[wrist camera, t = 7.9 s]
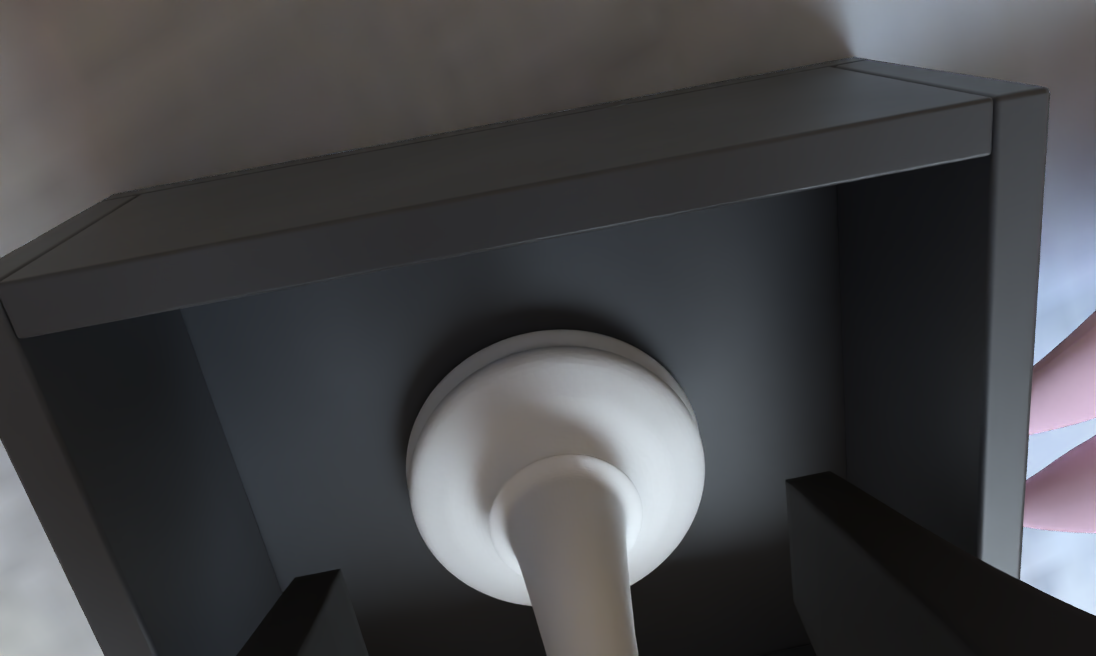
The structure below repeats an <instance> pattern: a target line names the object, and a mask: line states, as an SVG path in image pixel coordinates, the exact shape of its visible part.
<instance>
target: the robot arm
mask: <svg viewBox="0 0 1096 656" xmlns="http://www.w3.org/2000/svg"><path fill="white" fill-rule="evenodd" d="M785 485H786V500H787V514H788V529H789V544H790V559H791V573H792V588H793V602H794V604H795V606H796V609H797V611H798V614H799V616H800V618H801V621H802V623H803V625H804V628H805V630H806V633H807V635H808V637H809V640H810V642H811V644H812V646H813V649H814V651H815V653H816V655H817V656H1096V616H1095V615H1092V614H1090V613H1088V612H1085V611H1083V610H1081V609H1078V608H1076V607H1074V606H1072V605H1070V604H1068V603H1065V602H1063V601H1061V600H1059V599H1057V598H1055V597H1053V596H1050V595H1048V594H1046V593H1044V592H1042V591H1040V590H1038V589H1036V588H1034V587H1032V586H1030V585H1029V584H1027V583H1025V582H1023V581H1021V580H1019V579H1017V578H1015V577H1013V576H1011V575H1009V574H1007V573H1005V572H1003V571H1001V570H999V569H997V568H995V567H993V566H991V565H990V564H988V563H986V562H984V561H982V560H980V559H978V558H977V557H975V556H973V555H971V554H969V553H967V552H966V551H964V550H962V549H960V548H959V547H957V546H955V545H953V544H951V543H950V542H948V541H946V540H944V539H943V538H941V537H939V536H938V535H936V534H934V533H932V532H931V531H929V530H927V529H926V528H924V527H922V526H920V525H919V524H917V523H915V522H914V521H912V520H910V519H909V518H907V517H905V516H904V515H902V514H900V513H899V512H897V511H896V510H894V509H892V508H891V507H889V506H887V505H886V504H884V503H882V502H881V501H879V500H878V499H876V498H874V497H873V496H871V495H869V494H868V493H866V492H865V491H863V490H861V489H860V488H858V487H856V486H855V485H853V484H851V483H850V482H848V481H846V480H845V479H843V478H841V477H840V476H838V475H836V474H834V473H833V472H831V471H827V472H822V473H817V474H812V475H807V476H802V477H797V478H792V479H787V480H785ZM236 656H369V655H368V652H367V649H366V646H365V643H364V639H363V636H362V633H361V630H360V627H359V624H358V621H357V618H356V615H355V612H354V609H353V605H352V602H351V599H350V596H349V593H348V590H347V587H346V584H345V581H344V578H343V574H342V571H341V568H340V569H335V570H330V571H325V572H320V573H315V574H310V575H305V576H300V577H295V578H294V579H293V580H292V582H291V583H290V584H289V586H288V587H287V588H286V589H285V591H284V592H283V593H282V595H281V596H280V597H279V599H278V600H277V601H276V603H275V604H274V606H273V607H272V608H271V610H270V611H269V612H268V614H267V615H266V616H265V618H264V619H263V620H262V622H261V623H260V624H259V626H258V627H257V628H256V630H255V631H254V632H253V634H252V635H251V637H250V638H249V639H248V641H247V642H246V643H245V645H244V646H243V647H242V649H241V650H240V651H239V653H238V654H237V655H236Z"/></svg>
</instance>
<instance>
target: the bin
mask: <svg viewBox="0 0 1096 656" xmlns="http://www.w3.org/2000/svg"><path fill="white" fill-rule="evenodd" d="M1049 101H1050V92H1049V89H1048V88H1046V87H1042V86H1036V85H1030V84H1023V83H1017V82H1010V81H1004V80H998V79H991V78H985V77H978V76H972V75H965V74H959V73H952V72H946V71H939V70H933V69H926V68H920V67H913V66H907V65H900V64H894V63H888V62H881V61H875V60H868V59H863V58H857V57H852V58H846V59H841V60H836V61H830V62H825V63H819V64H814V65H809V66H803V67H798V68H792V69H787V70H782V71H776V72H771V73H765V74H760V75H755V76H749V77H744V78H738V79H733V80H728V81H722V82H717V83H711V84H706V85H701V86H695V87H690V88H684V89H679V90H674V91H668V92H663V93H657V94H652V95H647V96H641V97H636V98H630V99H625V100H620V101H614V102H609V103H603V104H598V105H593V106H587V107H582V108H576V109H571V110H566V111H560V112H555V113H549V114H544V115H539V116H533V117H528V118H522V119H517V120H512V121H506V122H501V123H495V124H490V125H485V126H479V127H474V128H468V129H463V130H458V131H452V132H447V133H441V134H436V135H431V136H425V137H420V138H414V139H409V140H404V141H398V142H393V143H387V144H382V145H377V146H371V147H366V148H360V149H355V150H350V151H344V152H339V153H333V154H328V155H323V156H317V157H312V158H306V159H301V160H296V161H290V162H285V163H279V164H274V165H269V166H263V167H258V168H253V169H247V170H242V171H236V172H231V173H226V174H220V175H215V176H209V177H204V178H199V179H193V180H188V181H182V182H177V183H172V184H166V185H161V186H155V187H150V188H145V189H139V190H134V191H128V192H123V193H118V194H113V195H111V196H109V197H108V198H106V199H104V200H103V201H101V202H99V203H97V204H95V205H93V206H92V207H90V208H88V209H86V210H85V211H83V212H81V213H79V214H78V215H76V216H74V217H72V218H71V219H69V220H67V221H65V222H64V223H62V224H60V225H58V226H56V227H55V228H53V229H51V230H49V231H48V232H46V233H44V234H42V235H41V236H39V237H37V238H35V239H34V240H32V241H30V242H28V243H27V244H25V245H23V246H21V247H19V248H18V249H16V250H14V251H12V252H11V253H9V254H7V255H5V256H4V257H2V258H0V439H1V441H2V443H3V445H4V447H5V449H6V452H7V454H8V456H9V458H10V460H11V462H12V464H13V466H14V468H15V470H16V472H17V474H18V477H19V479H20V481H21V483H22V485H23V487H24V489H25V491H26V493H27V495H28V497H29V499H30V502H31V504H32V506H33V508H34V510H35V512H36V514H37V516H38V518H39V520H40V522H41V524H42V527H43V529H44V531H45V533H46V535H47V537H48V539H49V541H50V543H51V545H52V547H53V549H54V552H55V554H56V556H57V558H58V560H59V562H60V564H61V566H62V568H63V570H64V572H65V574H66V577H67V579H68V581H69V583H70V585H71V587H72V589H73V591H74V593H75V595H76V597H77V599H78V602H79V604H80V606H81V608H82V610H83V612H84V614H85V616H86V618H87V620H88V622H89V624H90V626H91V629H92V631H93V633H94V635H95V637H96V639H97V641H98V643H99V645H100V647H101V649H102V651H103V654H104V656H236V655H237V654H238V653H239V651H240V650H241V649H242V647H243V646H244V645H245V643H246V642H247V641H248V639H249V638H250V637H251V635H252V634H253V632H254V631H255V630H256V628H257V627H258V626H259V624H260V623H261V622H262V620H263V619H264V618H265V616H266V615H267V614H268V612H269V611H270V610H271V608H272V607H273V606H274V604H275V603H276V601H277V600H278V599H279V597H280V596H281V595H282V593H283V592H284V591H285V589H286V588H287V587H288V586H289V584H290V583H291V582H292V580H293V579H294V578H295V577H300V576H305V575H310V574H315V573H320V572H325V571H330V570H335V569H340V568H341V571H342V574H343V578H344V581H345V584H346V587H347V590H348V593H349V596H350V599H351V602H352V605H353V609H354V612H355V615H356V618H357V621H358V624H359V627H360V630H361V633H362V636H363V639H364V643H365V646H366V649H367V652H368V655H369V656H547V655H546V651H545V647H544V644H543V641H542V638H541V634H540V631H539V627H538V624H537V620H536V617H535V614H534V610H533V607H532V606H528V605H521V604H515V603H511V602H507V601H503V600H500V599H497V598H494V597H491V596H489V595H486V594H484V593H482V592H480V591H478V590H476V589H474V588H472V587H470V586H468V585H467V584H465V583H464V582H462V581H461V580H459V579H458V578H457V577H455V576H454V575H453V574H452V573H450V572H449V571H448V570H447V569H446V568H445V567H444V566H443V565H442V564H441V563H440V562H439V561H438V560H437V559H436V557H435V556H434V555H433V554H432V552H431V551H430V550H429V548H428V547H427V545H426V543H425V542H424V540H423V538H422V536H421V534H420V532H419V530H418V528H417V525H416V523H415V520H414V517H413V513H412V509H411V504H410V497H409V491H408V485H407V478H406V456H407V448H408V442H409V438H410V434H411V431H412V428H413V425H414V423H415V420H416V418H417V416H418V414H419V412H420V410H421V408H422V406H423V404H424V403H425V401H426V400H427V398H428V397H429V395H430V394H431V392H432V391H433V390H434V389H435V387H436V386H437V385H438V384H439V383H440V382H441V380H442V379H443V378H444V377H445V376H446V375H447V374H448V373H449V372H451V371H452V370H453V369H454V368H455V367H457V366H458V365H459V364H460V363H462V362H463V361H464V360H466V359H467V358H469V357H470V356H472V355H473V354H475V353H477V352H478V351H480V350H482V349H484V348H486V347H488V346H490V345H492V344H494V343H497V342H499V341H502V340H504V339H507V338H510V337H514V336H517V335H521V334H525V333H530V332H536V331H543V330H560V329H565V330H580V331H588V332H593V333H598V334H602V335H606V336H609V337H613V338H615V339H618V340H621V341H623V342H625V343H628V344H630V345H632V346H634V347H636V348H638V349H639V350H641V351H643V352H644V353H646V354H647V355H649V356H650V357H652V358H653V359H654V360H656V361H657V362H658V363H659V364H660V365H661V366H663V367H664V368H665V369H666V370H667V371H668V372H669V373H670V375H671V376H672V377H673V378H674V379H675V380H676V382H677V383H678V384H679V386H680V387H681V388H682V390H683V392H684V393H685V395H686V397H687V399H688V401H689V402H690V404H691V407H692V409H693V412H694V414H695V417H696V421H697V425H698V429H699V434H700V438H701V441H702V446H703V451H704V459H705V479H704V487H703V493H702V497H701V501H700V504H699V507H698V510H697V513H696V515H695V518H694V520H693V522H692V524H691V526H690V528H689V529H688V531H687V533H686V534H685V536H684V538H683V539H682V540H681V542H680V543H679V545H678V546H677V547H676V548H675V549H674V551H673V552H672V553H671V554H670V555H669V556H668V557H667V558H666V559H665V560H664V561H663V562H662V563H661V564H660V565H659V566H658V567H657V568H655V569H654V570H653V571H652V572H650V573H649V574H648V575H646V576H645V577H644V578H642V579H641V580H639V581H637V582H636V583H634V584H632V585H631V586H630V590H631V600H632V609H633V619H634V629H635V636H636V642H637V648H638V655H639V656H817V655H816V653H815V651H814V649H813V646H812V644H811V642H810V640H809V637H808V635H807V633H806V630H805V628H804V625H803V623H802V621H801V618H800V616H799V614H798V611H797V609H796V606H795V604H794V602H793V588H792V573H791V559H790V544H789V529H788V514H787V500H786V485H785V480H787V479H792V478H797V477H802V476H807V475H812V474H817V473H822V472H827V471H831V472H833V473H834V474H836V475H838V476H840V477H841V478H843V479H845V480H846V481H848V482H850V483H851V484H853V485H855V486H856V487H858V488H860V489H861V490H863V491H865V492H866V493H868V494H869V495H871V496H873V497H874V498H876V499H878V500H879V501H881V502H882V503H884V504H886V505H887V506H889V507H891V508H892V509H894V510H896V511H897V512H899V513H900V514H902V515H904V516H905V517H907V518H909V519H910V520H912V521H914V522H915V523H917V524H919V525H920V526H922V527H924V528H926V529H927V530H929V531H931V532H932V533H934V534H936V535H938V536H939V537H941V538H943V539H944V540H946V541H948V542H950V543H951V544H953V545H955V546H957V547H959V548H960V549H962V550H964V551H966V552H967V553H969V554H971V555H973V556H975V557H977V558H978V559H980V560H982V561H984V562H986V563H988V564H990V565H991V566H993V567H995V568H997V569H999V570H1001V571H1003V572H1005V573H1007V574H1009V575H1011V576H1013V577H1015V578H1017V579H1019V580H1020V569H1021V553H1022V537H1023V520H1024V504H1025V488H1026V472H1027V456H1028V440H1029V424H1030V407H1031V391H1032V375H1033V359H1034V343H1035V327H1036V311H1037V294H1038V278H1039V262H1040V246H1041V230H1042V214H1043V198H1044V181H1045V165H1046V149H1047V133H1048V117H1049Z"/></svg>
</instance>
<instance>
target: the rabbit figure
mask: <svg viewBox="0 0 1096 656" xmlns="http://www.w3.org/2000/svg"><path fill="white" fill-rule="evenodd" d="M1094 418H1096V311H1095V312H1094V313H1093V314H1091V315H1090V316H1089V317H1088V318H1087V319H1086V320H1085V321H1084V322H1083V323H1082V324H1081V325H1080V326H1079V327H1078V328H1077V329H1075V330H1074V331H1073V332H1072V333H1071V334H1070V335H1069V336H1068V337H1067V338H1066V339H1064V340H1063V341H1062V342H1061V343H1060V344H1059V345H1058V346H1056V347H1055V348H1054V349H1053V350H1052V351H1051V352H1050V353H1049V354H1047V355H1046V356H1045V357H1044V358H1043V359H1041V360H1040V361H1039V362H1038V363H1037V364H1035V365H1034V366H1033V375H1032V391H1031V407H1030V424H1029V435H1032V434H1037V433H1041V432H1045V431H1050V430H1054V429H1058V428H1062V427H1066V426H1070V425H1074V424H1078V423H1081V422H1085V421H1088V420H1091V419H1094ZM1023 527H1028V528H1034V529H1040V530H1049V531H1061V532H1074V533H1096V435H1095V436H1093V437H1092V438H1090V439H1089V440H1087V441H1085V442H1084V443H1082V444H1080V445H1078V446H1077V447H1075V448H1073V449H1072V450H1070V451H1069V452H1067V453H1066V454H1064V455H1063V456H1061V457H1060V458H1058V459H1057V460H1055V461H1054V462H1052V463H1051V464H1049V465H1048V466H1047V467H1045V468H1044V469H1042V470H1041V471H1040V472H1038V473H1036V474H1035V475H1033V476H1032V477H1030V478H1029V479H1027V480H1026V488H1025V504H1024V520H1023Z"/></svg>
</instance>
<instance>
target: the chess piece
mask: <svg viewBox="0 0 1096 656" xmlns="http://www.w3.org/2000/svg"><path fill="white" fill-rule="evenodd" d="M406 478H407V485H408V491H409V497H410V504H411V509H412V513H413V517H414V520H415V523H416V525H417V528H418V530H419V532H420V534H421V536H422V538H423V540H424V542H425V543H426V545H427V547H428V548H429V550H430V551H431V552H432V554H433V555H434V556H435V557H436V559H437V560H438V561H439V562H440V563H441V564H442V565H443V566H444V567H445V568H446V569H447V570H448V571H449V572H450V573H452V574H453V575H454V576H455V577H457V578H458V579H459V580H461V581H462V582H464V583H465V584H467V585H468V586H470V587H472V588H474V589H476V590H478V591H480V592H482V593H484V594H486V595H489V596H491V597H494V598H497V599H500V600H503V601H507V602H511V603H515V604H521V605H528V606H532V607H533V610H534V614H535V617H536V620H537V624H538V627H539V631H540V634H541V638H542V641H543V644H544V647H545V651H546V655H547V656H639V655H638V648H637V642H636V636H635V629H634V619H633V609H632V600H631V590H630V586H631V585H632V584H634V583H636V582H637V581H639V580H641V579H642V578H644V577H645V576H646V575H648V574H649V573H650V572H652V571H653V570H654V569H655V568H657V567H658V566H659V565H660V564H661V563H662V562H663V561H664V560H665V559H666V558H667V557H668V556H669V555H670V554H671V553H672V552H673V551H674V549H675V548H676V547H677V546H678V545H679V543H680V542H681V540H682V539H683V538H684V536H685V534H686V533H687V531H688V529H689V528H690V526H691V524H692V522H693V520H694V518H695V515H696V513H697V510H698V507H699V504H700V501H701V497H702V493H703V487H704V479H705V459H704V451H703V446H702V441H701V438H700V434H699V429H698V425H697V421H696V417H695V414H694V412H693V409H692V407H691V404H690V402H689V401H688V399H687V397H686V395H685V393H684V392H683V390H682V388H681V387H680V386H679V384H678V383H677V382H676V380H675V379H674V378H673V377H672V376H671V375H670V373H669V372H668V371H667V370H666V369H665V368H664V367H663V366H661V365H660V364H659V363H658V362H657V361H656V360H654V359H653V358H652V357H650V356H649V355H647V354H646V353H644V352H643V351H641V350H639V349H638V348H636V347H634V346H632V345H630V344H628V343H625V342H623V341H621V340H618V339H615V338H613V337H609V336H606V335H602V334H598V333H593V332H588V331H580V330H565V329H560V330H543V331H536V332H530V333H525V334H521V335H517V336H514V337H510V338H507V339H504V340H502V341H499V342H497V343H494V344H492V345H490V346H488V347H486V348H484V349H482V350H480V351H478V352H477V353H475V354H473V355H472V356H470V357H469V358H467V359H466V360H464V361H463V362H462V363H460V364H459V365H458V366H457V367H455V368H454V369H453V370H452V371H451V372H449V373H448V374H447V375H446V376H445V377H444V378H443V379H442V380H441V382H440V383H439V384H438V385H437V386H436V387H435V389H434V390H433V391H432V392H431V394H430V395H429V397H428V398H427V400H426V401H425V403H424V404H423V406H422V408H421V410H420V412H419V414H418V416H417V418H416V420H415V423H414V425H413V428H412V431H411V434H410V438H409V442H408V448H407V456H406Z"/></svg>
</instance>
